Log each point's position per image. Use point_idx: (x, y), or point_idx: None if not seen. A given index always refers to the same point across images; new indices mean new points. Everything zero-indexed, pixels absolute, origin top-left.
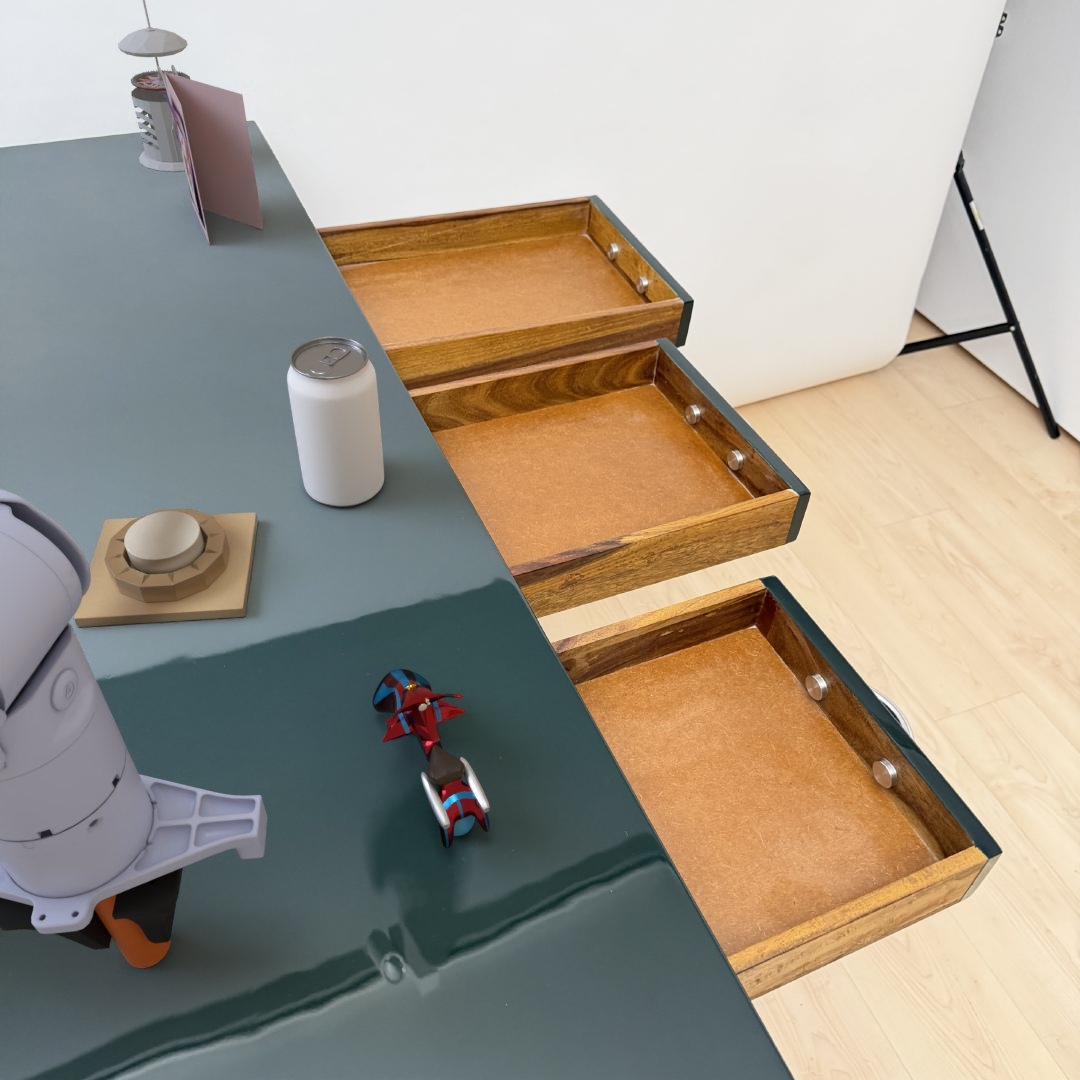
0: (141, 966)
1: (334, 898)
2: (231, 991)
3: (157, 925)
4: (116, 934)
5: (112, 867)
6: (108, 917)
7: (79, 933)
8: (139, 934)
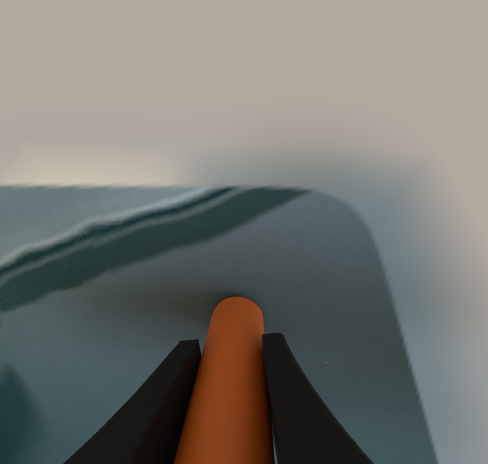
0: (235, 299)
1: (53, 360)
2: (131, 269)
3: (118, 421)
4: (237, 371)
5: None
6: (225, 446)
7: (283, 412)
8: (207, 363)
